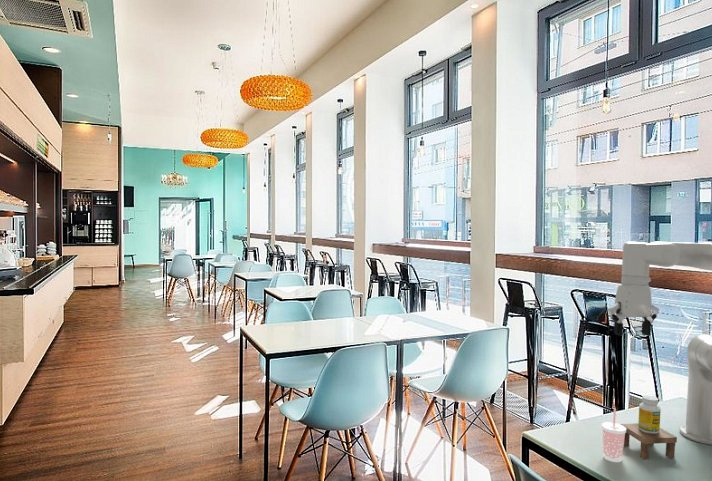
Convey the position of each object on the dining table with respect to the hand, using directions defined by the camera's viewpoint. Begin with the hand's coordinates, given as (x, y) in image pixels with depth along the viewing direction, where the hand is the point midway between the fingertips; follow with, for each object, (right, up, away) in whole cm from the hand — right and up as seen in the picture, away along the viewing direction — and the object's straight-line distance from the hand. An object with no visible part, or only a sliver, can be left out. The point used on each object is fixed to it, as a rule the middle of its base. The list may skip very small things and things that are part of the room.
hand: (632, 334), depth 161 cm
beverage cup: (-16, -31, -19) cm, 40 cm away
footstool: (-3, -31, -14) cm, 34 cm away
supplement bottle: (-3, -25, -14) cm, 29 cm away
